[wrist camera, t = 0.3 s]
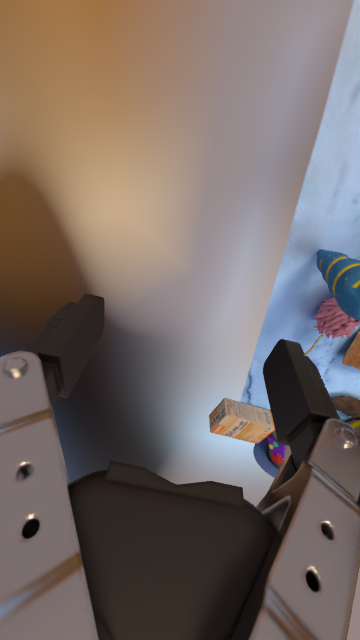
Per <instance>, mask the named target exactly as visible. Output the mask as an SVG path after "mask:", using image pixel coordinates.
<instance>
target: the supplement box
mask: <svg viewBox="0 0 360 640" xmlns="http://www.w3.org/2000/svg"><path fill="white" fill-rule="evenodd" d="M209 418H210V432H211V433H215V434H220V435H223V436H228V437H232V438H236V439H239V440H244V441H248V442H252V443H256V444H258V443H259V442H260V441H262V440H263V439H264V438H265V437H266V436H268V435H269V434H270V433H272V432H273V431H275V427H274V422H273V417H272V413H271V411H269V410H266V409H262V408H259V407H255V406H252V405H248V404H245V403H241V402H238V401H234V400H231V399H227V398H224V399H223V400H222V402H221V403H220V404H219V405H218V406H217V407H216V408H215V409H214V411H213V412H212V413H211V414H210V415H209Z"/></svg>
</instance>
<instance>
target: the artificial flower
mask: <svg viewBox="0 0 360 640" xmlns="http://www.w3.org/2000/svg"><path fill="white" fill-rule="evenodd" d="M323 301H325V303H322V305H320V306H319V307H320V308H321V309H320V310H319V311H318V312H316V313H318V314H316V316H315V318H313V320H315V319H317V326H315V328H318V329H317V330H319V334H320V333H322V335H321V336H320V337H319V338H318V339H317V340H316V341H315V343H314V344H313V346H312V347H311V348H310V349H309V350H308V351H307V352H306V353H304V355H305V356H306V355H307V354H308V353H309V352H311V351H312V350H313V348H314V347H315V345H316V344H317V342H318V341H319V340H320V338H321V337H322V336H323V335H324V334H325V335H326V334H327V335H326V336H327V338H329V337H330V336H331V335H332V338H333V339H334V337H338V336H341V337H343V336H344V335H347V337H348V338H349V335H350V333H351V332H352V331H353V330H354V329H355V328H354V326H358V325H359V324H360V321H359V320H356V319H354V318H352V317H350V316H348V315H347V314H346V313H345V312H343V311H342V310H341V308H340V307H339V306H338V304H337V301H336V298H331V299H329V300H325V299H324V300H323Z"/></svg>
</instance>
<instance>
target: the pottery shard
mask: <svg viewBox="0 0 360 640" xmlns="http://www.w3.org/2000/svg"><path fill="white" fill-rule="evenodd" d="M342 364H345V365H350V366H353V367H355V368H358V369H360V331H358V332H357V334H356V337H355V339H354V341H353V342H352V343H351V345H350V347H349V348H348V350H347V352H346V355H345V357H344V359H343V360H342Z"/></svg>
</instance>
